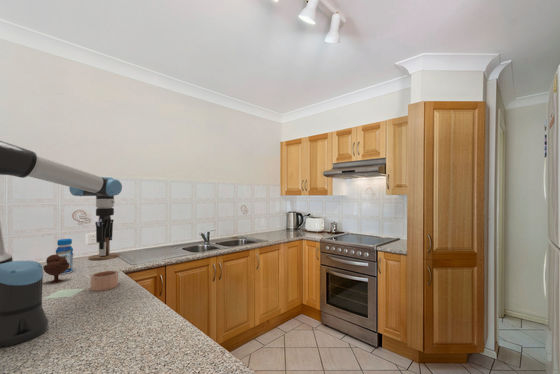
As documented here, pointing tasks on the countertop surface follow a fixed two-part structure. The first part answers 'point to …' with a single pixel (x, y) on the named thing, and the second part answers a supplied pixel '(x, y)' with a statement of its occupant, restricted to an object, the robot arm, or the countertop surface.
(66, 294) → the trivet
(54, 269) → the brown tree figurine
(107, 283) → the bowl
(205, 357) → the countertop surface
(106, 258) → the lid
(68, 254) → the beverage bottle
